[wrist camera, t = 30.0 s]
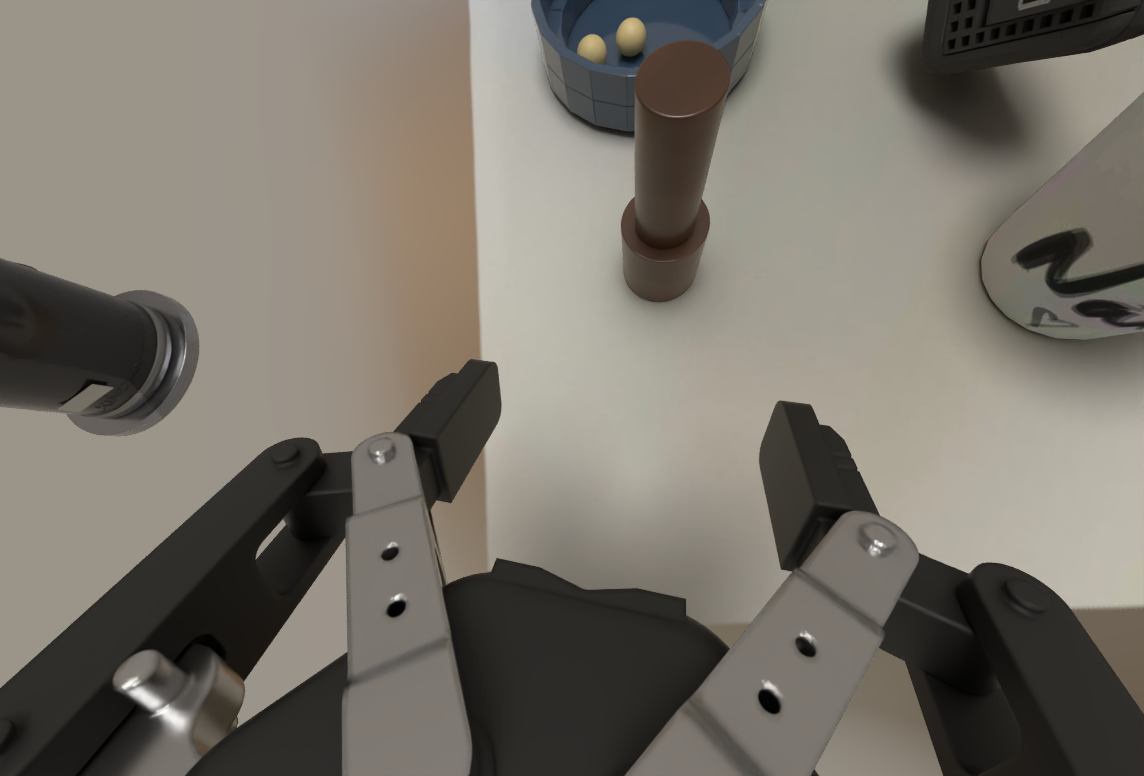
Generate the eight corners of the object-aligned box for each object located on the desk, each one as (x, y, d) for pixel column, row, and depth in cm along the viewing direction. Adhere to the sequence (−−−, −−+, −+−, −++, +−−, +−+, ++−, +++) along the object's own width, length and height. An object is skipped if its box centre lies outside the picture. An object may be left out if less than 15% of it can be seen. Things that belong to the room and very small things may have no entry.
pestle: (609, 274, 26) (585, 94, 14) (654, 223, 27) (672, 0, 14) (664, 315, 25) (692, 162, 13) (710, 262, 25) (784, 59, 13)
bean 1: (580, 44, 29) (566, 45, 27) (604, 26, 28) (591, 27, 26) (591, 77, 30) (579, 79, 28) (615, 61, 28) (603, 63, 27)
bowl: (507, 81, 30) (486, 16, 26) (626, -59, 31) (624, -145, 27) (668, 172, 27) (675, 115, 23) (796, 13, 28) (826, -72, 24)
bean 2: (611, 19, 27) (641, 5, 26) (614, 33, 29) (642, 20, 28) (618, 54, 27) (649, 41, 27) (621, 66, 29) (649, 54, 29)
